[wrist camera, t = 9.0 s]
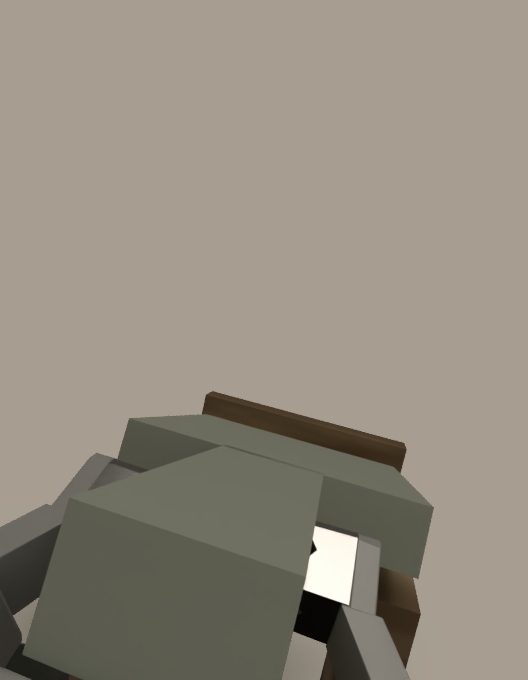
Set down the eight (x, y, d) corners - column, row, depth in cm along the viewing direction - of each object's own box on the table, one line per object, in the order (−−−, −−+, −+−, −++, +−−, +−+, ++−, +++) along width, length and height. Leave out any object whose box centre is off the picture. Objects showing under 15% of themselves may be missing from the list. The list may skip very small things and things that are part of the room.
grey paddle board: (565, 881, 6) (600, 676, 6) (-176, 572, 8) (-127, 431, 8) (384, 508, 27) (393, 466, 28) (196, 452, 30) (206, 414, 30)
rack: (274, 1140, 21) (440, 543, 18) (8, 989, 23) (114, 444, 20) (307, 811, 34) (404, 443, 31) (137, 738, 37) (212, 391, 34)
